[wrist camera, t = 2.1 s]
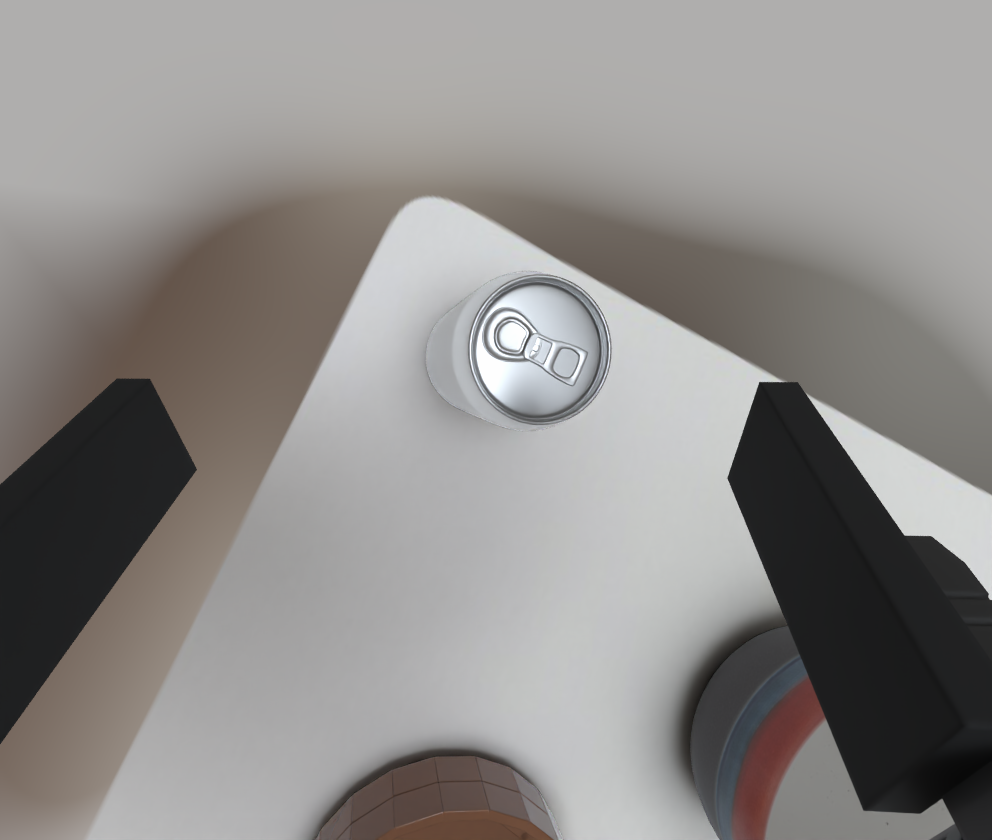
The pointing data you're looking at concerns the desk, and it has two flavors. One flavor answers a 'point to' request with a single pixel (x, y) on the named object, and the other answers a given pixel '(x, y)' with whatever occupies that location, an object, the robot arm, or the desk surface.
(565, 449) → the desk surface
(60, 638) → the robot arm
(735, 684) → the vase
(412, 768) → the bowl
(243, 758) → the desk surface
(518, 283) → the can
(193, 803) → the desk surface
